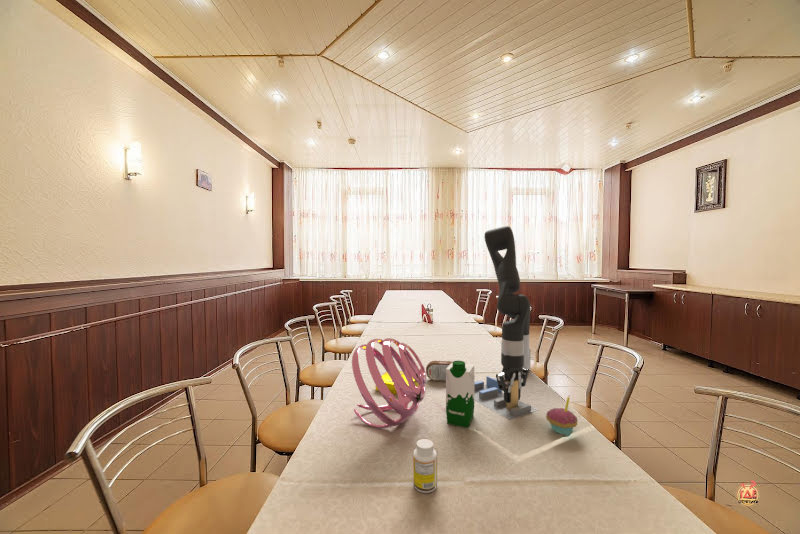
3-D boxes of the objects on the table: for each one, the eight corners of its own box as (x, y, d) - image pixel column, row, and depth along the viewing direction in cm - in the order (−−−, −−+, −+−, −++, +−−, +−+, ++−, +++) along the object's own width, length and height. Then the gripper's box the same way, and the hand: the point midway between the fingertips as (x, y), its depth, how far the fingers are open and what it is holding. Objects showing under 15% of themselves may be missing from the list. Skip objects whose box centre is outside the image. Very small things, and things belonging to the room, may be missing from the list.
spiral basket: (311, 366, 104) (381, 320, 99) (353, 361, 129) (409, 324, 125) (349, 455, 94) (428, 409, 89) (385, 431, 119) (448, 394, 115)
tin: (460, 380, 144) (460, 360, 143) (461, 382, 140) (461, 363, 140) (426, 378, 145) (425, 360, 145) (425, 381, 142) (425, 362, 142)
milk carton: (443, 424, 106) (443, 362, 105) (451, 412, 114) (451, 355, 113) (470, 430, 102) (470, 366, 101) (476, 417, 110) (476, 358, 110)
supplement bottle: (422, 474, 81) (422, 434, 81) (441, 484, 78) (441, 442, 77) (408, 487, 77) (408, 444, 77) (427, 498, 73) (427, 453, 73)
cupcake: (574, 428, 103) (575, 390, 102) (579, 443, 95) (580, 402, 94) (544, 423, 106) (545, 387, 105) (547, 437, 98) (547, 398, 97)
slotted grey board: (485, 386, 136) (485, 374, 136) (538, 412, 113) (538, 398, 113) (458, 393, 129) (458, 381, 129) (509, 422, 106) (509, 407, 106)
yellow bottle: (511, 404, 117) (512, 371, 117) (520, 409, 114) (521, 374, 113) (503, 407, 115) (503, 373, 115) (512, 411, 112) (512, 377, 111)
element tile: (373, 391, 133) (373, 379, 132) (389, 378, 146) (389, 368, 146) (408, 397, 127) (408, 385, 126) (421, 383, 140) (421, 372, 140)
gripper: (518, 346, 121) (517, 392, 121) (489, 352, 114) (489, 400, 114) (535, 351, 114) (535, 400, 115) (506, 357, 107) (505, 409, 108)
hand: (512, 400), depth 114 cm, fingers closed on yellow bottle, 4 cm apart
